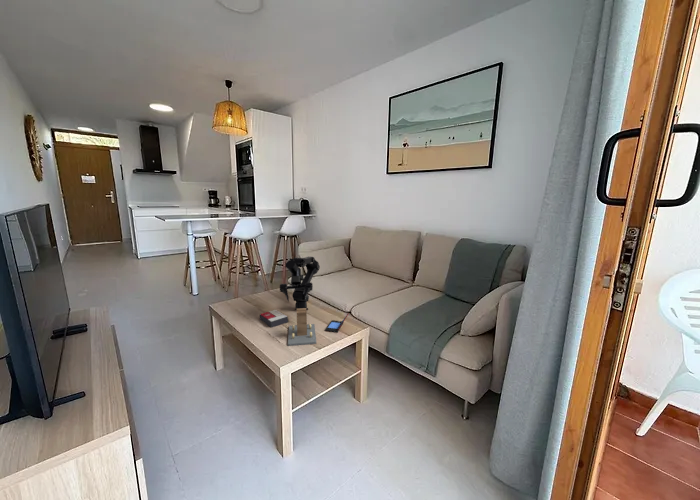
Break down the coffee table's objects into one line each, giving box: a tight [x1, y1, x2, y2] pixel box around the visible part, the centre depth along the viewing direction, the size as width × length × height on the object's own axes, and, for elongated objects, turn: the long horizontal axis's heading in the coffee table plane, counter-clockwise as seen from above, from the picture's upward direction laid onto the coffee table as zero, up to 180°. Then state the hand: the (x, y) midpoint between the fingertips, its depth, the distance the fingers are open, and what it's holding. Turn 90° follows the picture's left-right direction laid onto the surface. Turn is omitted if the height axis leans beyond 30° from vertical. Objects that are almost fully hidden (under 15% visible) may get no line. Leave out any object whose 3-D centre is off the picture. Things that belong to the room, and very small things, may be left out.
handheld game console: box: [324, 312, 350, 334], centre depth 162 cm, size 12×11×7 cm
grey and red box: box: [259, 309, 289, 328], centre depth 170 cm, size 11×4×15 cm
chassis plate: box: [287, 323, 317, 347], centre depth 153 cm, size 20×14×4 cm
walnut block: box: [296, 308, 308, 336], centre depth 152 cm, size 5×5×13 cm
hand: (296, 300), depth 165 cm, fingers open, 9 cm apart
